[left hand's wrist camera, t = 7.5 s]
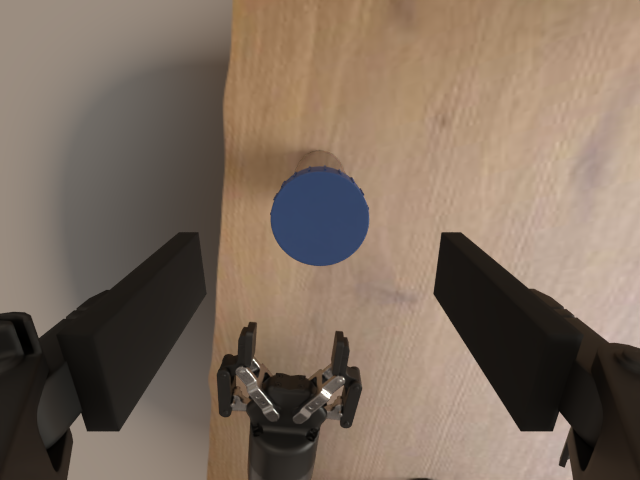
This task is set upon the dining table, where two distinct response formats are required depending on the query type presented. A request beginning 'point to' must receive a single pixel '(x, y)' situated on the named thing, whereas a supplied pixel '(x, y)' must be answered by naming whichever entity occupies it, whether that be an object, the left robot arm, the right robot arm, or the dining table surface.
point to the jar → (320, 161)
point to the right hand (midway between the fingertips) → (295, 331)
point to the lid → (319, 216)
